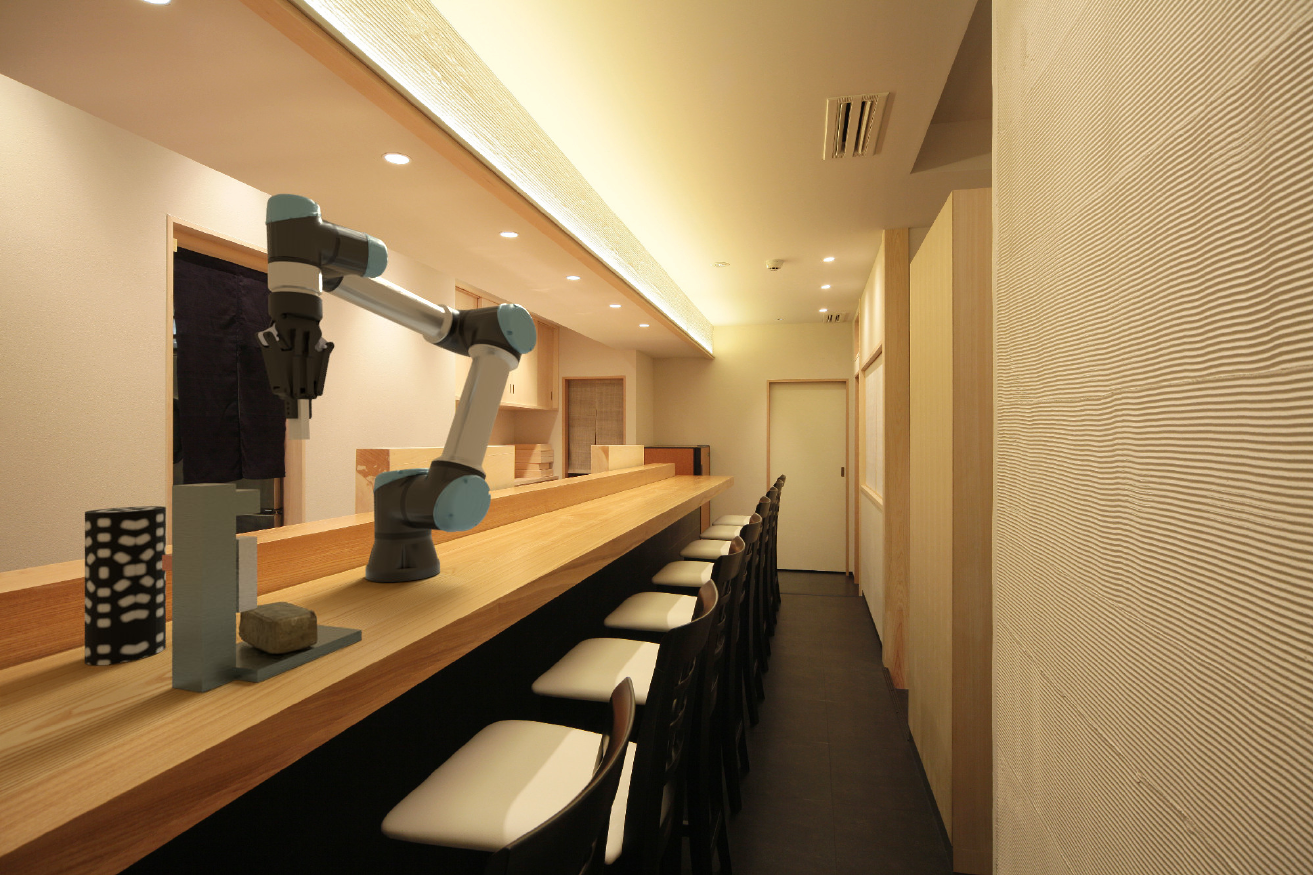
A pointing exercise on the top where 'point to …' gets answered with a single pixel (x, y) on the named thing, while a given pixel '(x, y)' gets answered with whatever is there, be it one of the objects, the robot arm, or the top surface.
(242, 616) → the stone block
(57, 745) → the top surface
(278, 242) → the robot arm
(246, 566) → the hammer
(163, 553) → the white-spotted black cylinder
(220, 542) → the press
